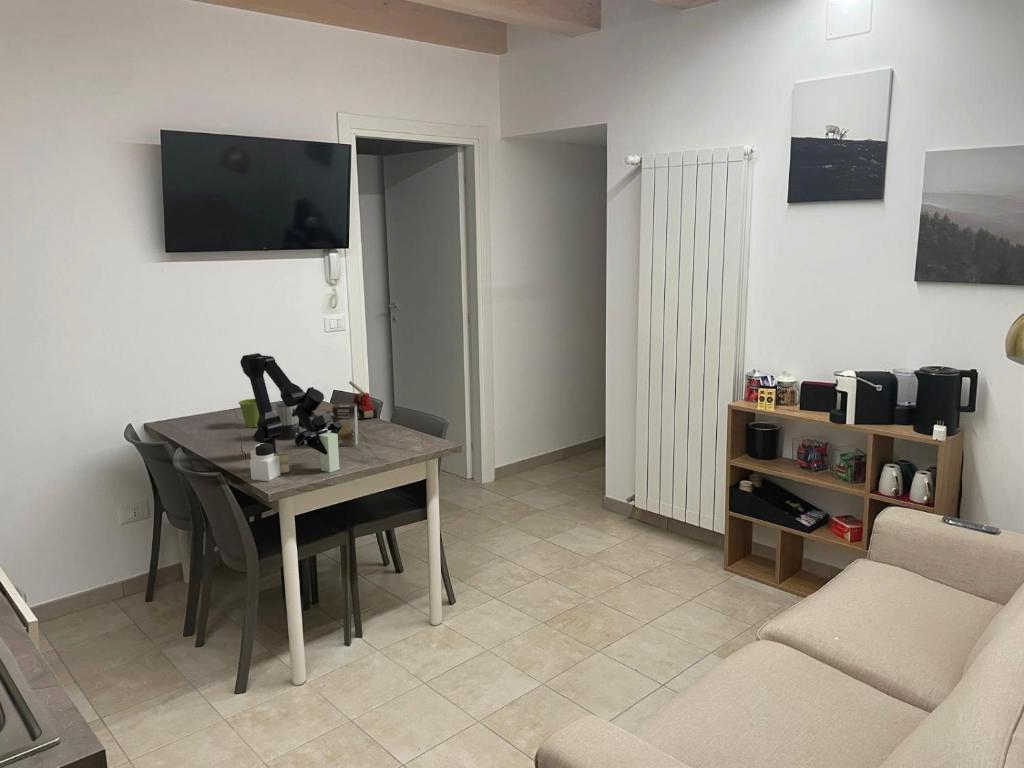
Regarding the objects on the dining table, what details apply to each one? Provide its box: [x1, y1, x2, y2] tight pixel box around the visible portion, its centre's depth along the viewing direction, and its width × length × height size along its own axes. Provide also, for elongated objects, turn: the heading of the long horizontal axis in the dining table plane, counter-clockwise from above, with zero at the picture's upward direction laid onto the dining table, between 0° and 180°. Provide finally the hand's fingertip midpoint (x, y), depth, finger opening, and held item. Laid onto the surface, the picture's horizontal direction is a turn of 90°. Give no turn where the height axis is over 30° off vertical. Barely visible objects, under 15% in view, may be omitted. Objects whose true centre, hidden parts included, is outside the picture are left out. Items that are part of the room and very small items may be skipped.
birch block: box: [273, 452, 290, 474], centre depth 273 cm, size 5×5×6 cm
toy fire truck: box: [348, 380, 378, 421], centre depth 352 cm, size 11×16×18 cm
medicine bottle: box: [249, 443, 281, 482], centre depth 265 cm, size 7×7×12 cm
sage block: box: [319, 432, 340, 473], centre depth 273 cm, size 5×5×13 cm
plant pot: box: [237, 398, 259, 429], centre depth 337 cm, size 12×12×11 cm
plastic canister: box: [249, 448, 256, 460], centre depth 275 cm, size 5×5×7 cm
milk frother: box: [275, 400, 303, 441], centre depth 320 cm, size 14×16×15 cm
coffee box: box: [331, 403, 359, 447], centre depth 306 cm, size 9×6×16 cm
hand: (331, 452), depth 273 cm, fingers closed on sage block, 5 cm apart
